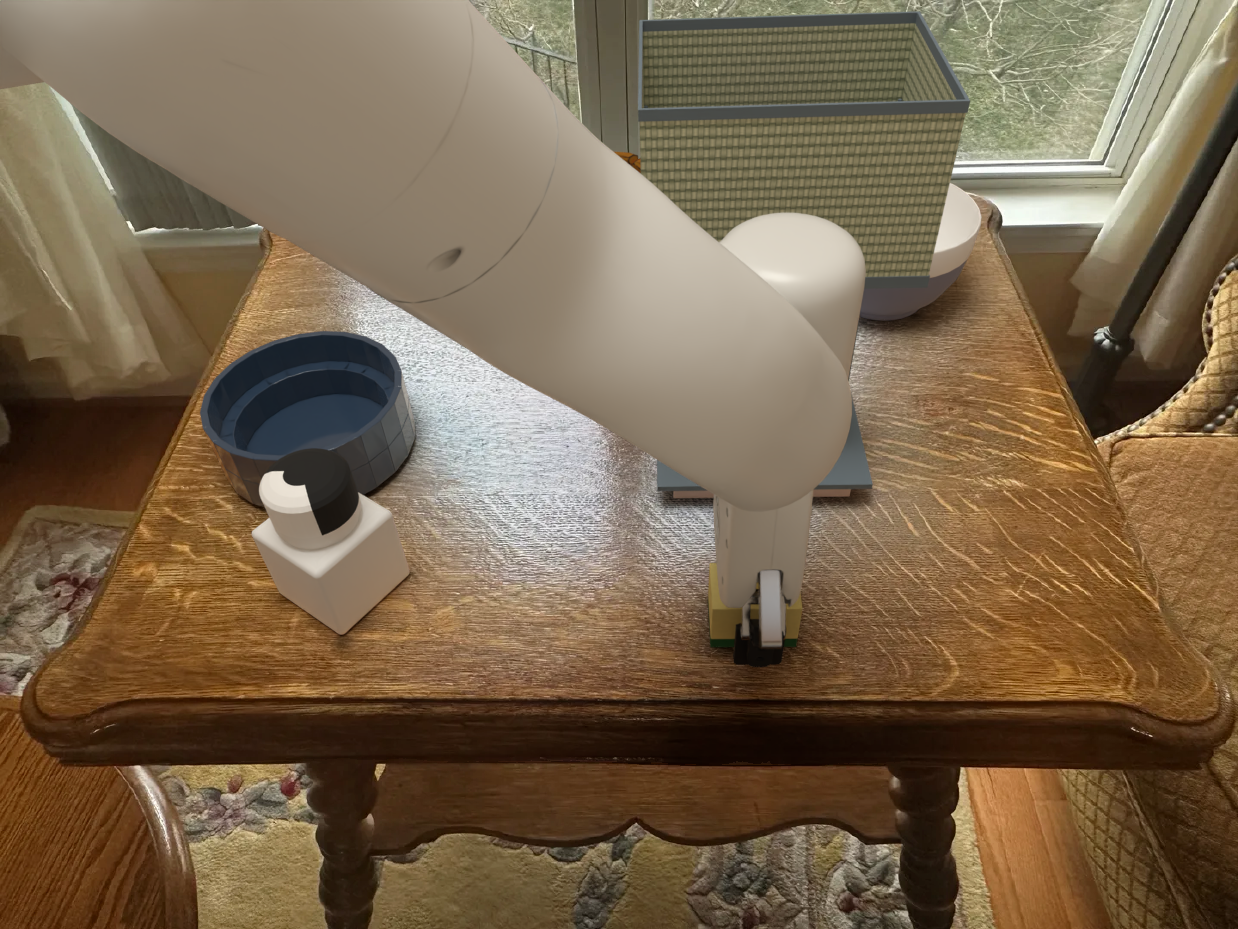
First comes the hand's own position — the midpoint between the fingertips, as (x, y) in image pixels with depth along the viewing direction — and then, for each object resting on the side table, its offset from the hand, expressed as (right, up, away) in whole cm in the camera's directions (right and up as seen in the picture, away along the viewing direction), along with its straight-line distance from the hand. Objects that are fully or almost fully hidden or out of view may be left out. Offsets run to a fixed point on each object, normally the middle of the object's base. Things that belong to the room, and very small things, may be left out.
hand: (752, 611), depth 66 cm
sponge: (0, -1, +1) cm, 1 cm away
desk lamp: (+2, +12, +14) cm, 18 cm away
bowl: (+17, +27, +29) cm, 43 cm away
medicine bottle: (-30, +1, +5) cm, 30 cm away
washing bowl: (-35, +12, +16) cm, 40 cm away
